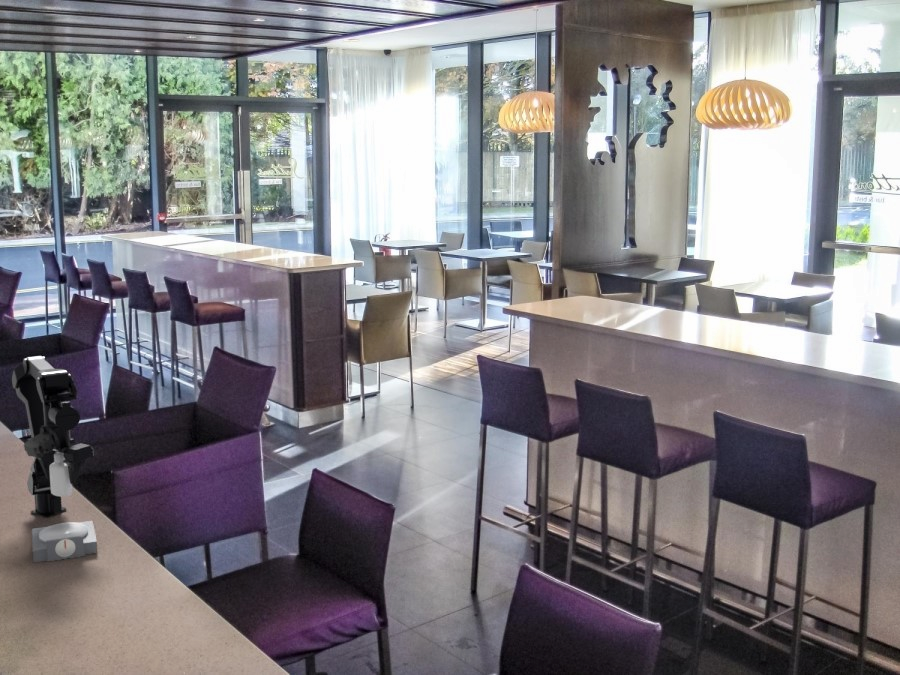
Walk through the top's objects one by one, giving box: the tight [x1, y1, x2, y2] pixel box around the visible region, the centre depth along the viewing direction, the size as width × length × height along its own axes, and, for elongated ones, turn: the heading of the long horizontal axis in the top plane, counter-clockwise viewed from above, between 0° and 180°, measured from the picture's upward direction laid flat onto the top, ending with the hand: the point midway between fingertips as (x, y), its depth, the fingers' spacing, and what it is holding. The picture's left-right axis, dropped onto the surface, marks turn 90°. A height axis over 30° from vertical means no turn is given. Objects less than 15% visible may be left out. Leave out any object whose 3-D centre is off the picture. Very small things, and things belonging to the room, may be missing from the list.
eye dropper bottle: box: [49, 451, 73, 498], centre depth 234 cm, size 4×6×12 cm
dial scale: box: [31, 520, 98, 564], centre depth 226 cm, size 15×14×5 cm
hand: (60, 480), depth 234 cm, fingers closed on eye dropper bottle, 8 cm apart
